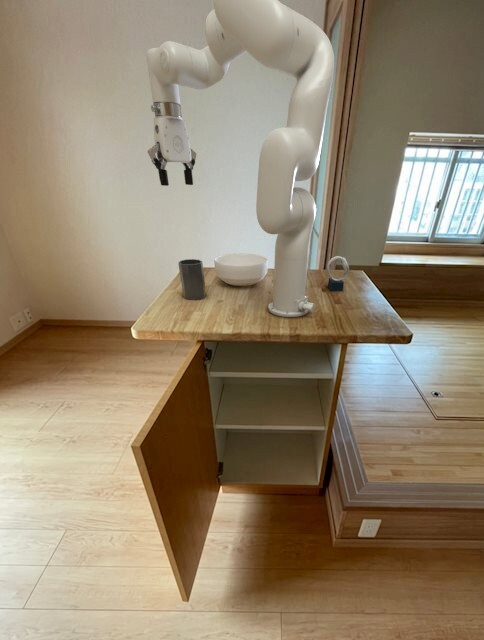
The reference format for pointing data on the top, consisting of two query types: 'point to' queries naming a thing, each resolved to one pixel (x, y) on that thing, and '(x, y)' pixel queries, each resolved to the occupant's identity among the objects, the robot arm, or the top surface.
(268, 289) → the top surface
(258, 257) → the bowl
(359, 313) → the top surface
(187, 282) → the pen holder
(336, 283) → the black block with loop
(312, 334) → the top surface
